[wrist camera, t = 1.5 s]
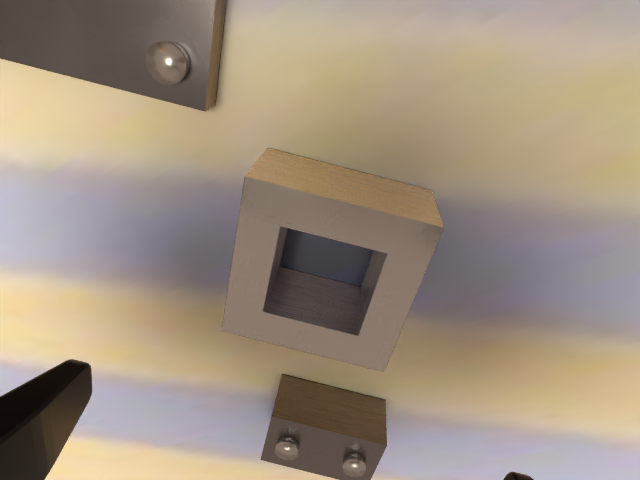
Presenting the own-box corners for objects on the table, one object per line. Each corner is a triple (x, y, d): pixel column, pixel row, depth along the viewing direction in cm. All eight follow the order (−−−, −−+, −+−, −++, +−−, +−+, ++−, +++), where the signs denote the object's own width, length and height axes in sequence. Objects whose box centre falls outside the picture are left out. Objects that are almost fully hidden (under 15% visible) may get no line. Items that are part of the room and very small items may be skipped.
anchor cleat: (385, 400, 20) (387, 453, 18) (367, 440, 22) (367, 495, 19) (282, 374, 20) (269, 424, 18) (271, 415, 22) (258, 468, 19)
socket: (431, 190, 15) (443, 227, 13) (382, 319, 18) (383, 372, 15) (267, 147, 15) (244, 176, 13) (244, 284, 18) (221, 330, 15)
